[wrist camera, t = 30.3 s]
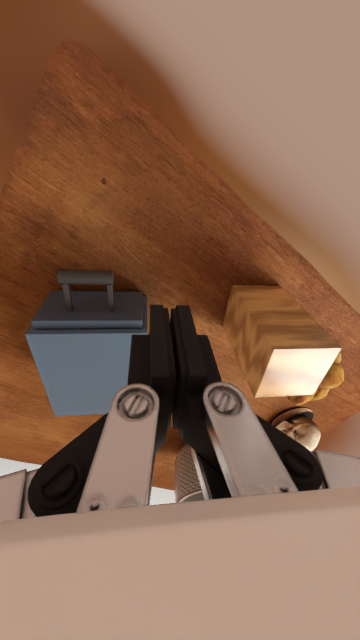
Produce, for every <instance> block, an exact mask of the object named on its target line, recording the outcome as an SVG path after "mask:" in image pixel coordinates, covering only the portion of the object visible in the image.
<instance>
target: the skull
mask: <svg viewBox="0 0 360 640" xmlns="http://www.w3.org/2000/svg"><path fill="white" fill-rule="evenodd" d="M312 418H313V412H312V411H311V410H310V409H308V408H296V409H293V410H289V411H287V412H285V413H283V414H281V415H280V416H278V417H277V418H276V419H275V420H274V421H273V422H272V423H271V425H273V426H274V427H276V428H277V429H279V430H280V431H282V432H283V433H285V434H286V435H288V436H289V437H291V438H292V439H294V440H296V441H297V442H299V443H300V444H302V445H303V446H304V447H306V448H307V449H308V450H309V451H312V450H313V449H314V448H315V447H316V446H317V444H318V442H319V440H320V436H321V433H320V431H319V429H318V427H317V425H316V424H315V423H314V422H313V421H312Z"/></svg>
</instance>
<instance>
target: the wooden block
mask: <svg viewBox="0 0 360 640" xmlns="http://www.w3.org/2000/svg"><path fill="white" fill-rule="evenodd" d="M223 328H224V330H225V332H226V334H227V337H228V339H229V341H230V343H231V346H232V348H233V350H234V352H235V355H236V357H237V359H238V361H239V364H240V366H241V368H242V370H243V373H244V375H245V377H246V379H247V382H248V384H249V386H250V388H251V391H252V393H253V395H254V397H255V398H259V397H278V396H298V395H314V393H315V391H316V390H317V388H318V386H319V385H320V383H321V381H322V380H323V378H324V376H325V375H326V373H327V372H328V370H329V368H330V367H331V365H332V363H333V362H334V360H335V358H336V357H337V355H338V353H339V352H340V350H341V348H342V347H341V346H340V345H339V344H338V343H337V342H336V341H335V340H334V339H333V338H332V337H331V336H330V335H329V334H328V333H327V332H326V331H325V330H324V329H323V328H322V327H321V326H320V325H319V324H318V323H317V322H316V321H315V320H314V319H313V318H312V317H311V316H310V315H309V314H308V313H307V312H306V311H305V310H304V309H303V308H301V307H300V306H299V305H298V304H297V303H296V302H295V301H294V300H293V299H292V298H291V297H290V296H289V295H288V294H287V293H286V292H285V291H284V290H283V289H282V288H281V287H280V286H265V285H232V287H231V292H230V296H229V301H228V305H227V310H226V314H225V319H224V323H223Z"/></svg>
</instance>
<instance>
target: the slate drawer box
mask: <svg viewBox="0 0 360 640" xmlns="http://www.w3.org/2000/svg"><path fill="white" fill-rule="evenodd" d="M132 334H133V335H147V296H143V318H142V328H138V329H74V330H49V329H33V326H32V324H31V326H30V327H29V329H28V330H27V332H26V333H25V336H26V339H27V342H28V345H29V347H30V350H31V353H32V355H33V358H34V361H35V363H36V366H37V369H38V372H39V374H40V377H41V380H42V382H43V385H44V388H45V391H46V393H47V396H48V399H49V401H50V404H51V407H52V410H53V412H54V415H55V417H59V416H76V415H94V414H107V413H108V412H109V409H110V406H111V403H112V400H113V398H114V396H115V394H116V393H117V392H118V391H119V390H120V389H121V388H123V387H125V386H127V383H128V372H129V360H130V349H131V338H132Z"/></svg>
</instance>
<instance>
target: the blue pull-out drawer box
mask: <svg viewBox="0 0 360 640" xmlns="http://www.w3.org/2000/svg"><path fill="white" fill-rule="evenodd" d="M56 277H57V281H58V283H59V284H62V288H63V291H51V292H50V294H49V295H48V297H47V298H46V299H45V301H44V302H43V304H42V305H41V307H40V308H39V310H38V311H37V313H36V314H35V316H34V317H33V318H32V320H31V323H32V326H33V329H49V330H74V329H95V328H122V329H138V328H142V318H143V292H115V291H113V284H114V272H113V271H107V270H66V269H58V270H57V274H56ZM69 284H107V291H70V289H69Z"/></svg>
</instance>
